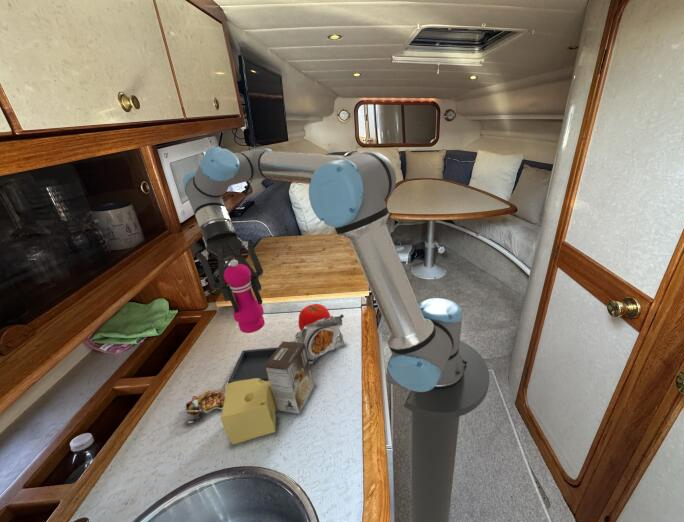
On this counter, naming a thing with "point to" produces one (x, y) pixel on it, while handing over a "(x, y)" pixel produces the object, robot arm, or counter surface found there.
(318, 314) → the tomato
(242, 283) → the pepper mill
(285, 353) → the coffee box
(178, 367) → the counter surface
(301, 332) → the meal
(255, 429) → the cheese
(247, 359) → the spice tray
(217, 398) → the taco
